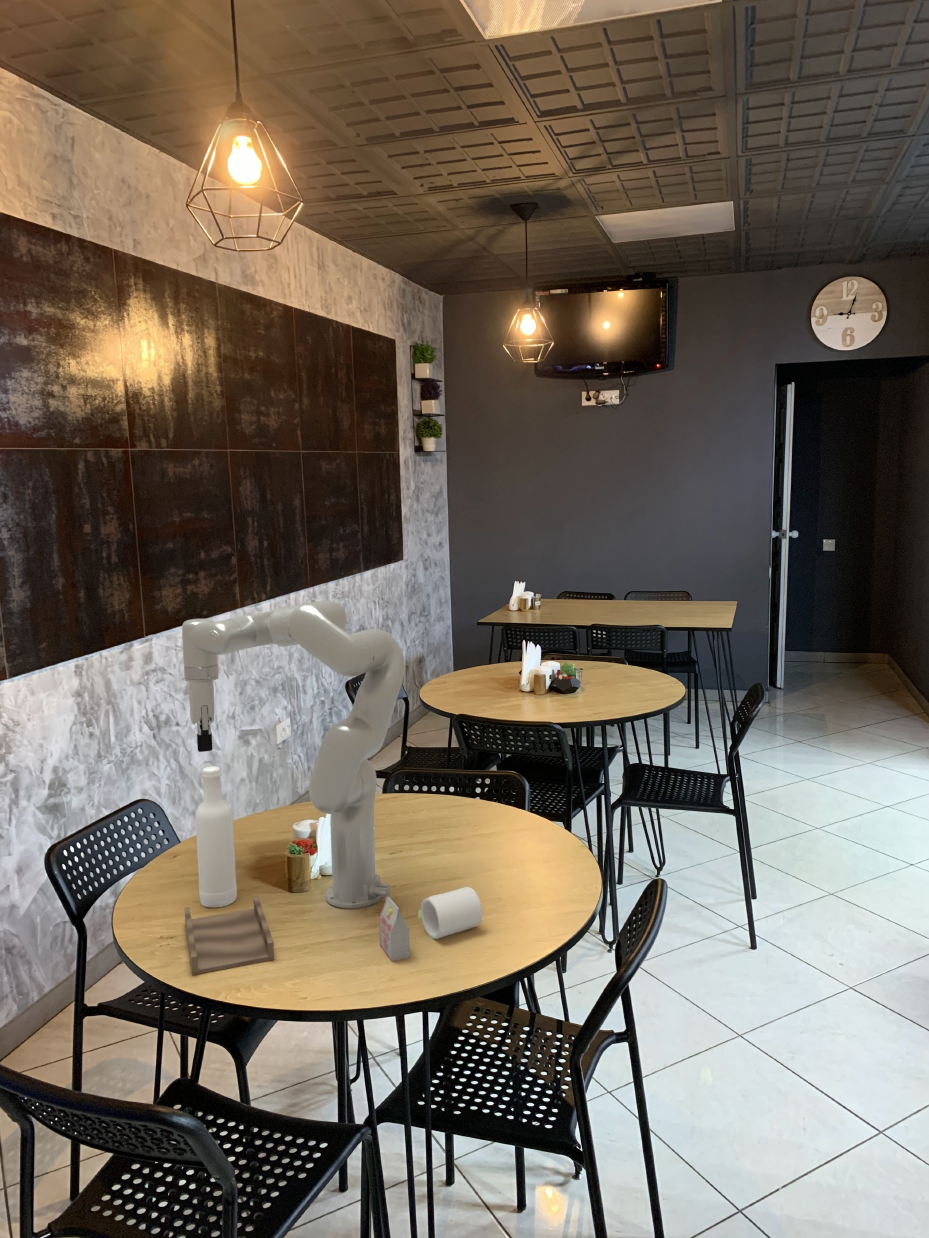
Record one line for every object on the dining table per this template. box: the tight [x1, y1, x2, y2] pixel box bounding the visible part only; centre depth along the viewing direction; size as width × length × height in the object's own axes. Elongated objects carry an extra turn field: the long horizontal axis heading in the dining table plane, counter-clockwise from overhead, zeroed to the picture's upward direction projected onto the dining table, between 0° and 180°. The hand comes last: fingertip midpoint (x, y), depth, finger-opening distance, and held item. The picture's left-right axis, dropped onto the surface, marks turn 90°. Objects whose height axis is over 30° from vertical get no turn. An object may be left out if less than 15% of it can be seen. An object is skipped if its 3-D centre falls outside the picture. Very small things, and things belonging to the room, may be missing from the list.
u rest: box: [184, 895, 275, 976], centre depth 175 cm, size 22×15×4 cm
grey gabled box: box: [378, 895, 411, 962], centre depth 170 cm, size 4×7×10 cm, turn 24°
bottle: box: [194, 765, 238, 909], centre depth 192 cm, size 8×8×30 cm
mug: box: [420, 886, 483, 940], centre depth 180 cm, size 12×10×8 cm
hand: (205, 750), depth 204 cm, fingers closed
